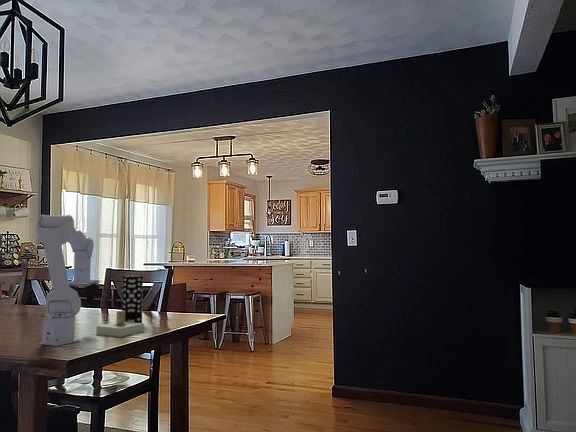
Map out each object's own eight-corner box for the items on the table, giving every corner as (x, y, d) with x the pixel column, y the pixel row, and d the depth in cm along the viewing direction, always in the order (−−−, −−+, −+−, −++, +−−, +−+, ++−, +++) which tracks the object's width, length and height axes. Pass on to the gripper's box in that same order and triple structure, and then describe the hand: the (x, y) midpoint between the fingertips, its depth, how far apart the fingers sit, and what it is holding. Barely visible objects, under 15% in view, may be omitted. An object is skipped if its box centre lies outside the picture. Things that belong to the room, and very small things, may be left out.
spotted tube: (132, 321, 203) (133, 275, 204) (146, 323, 199) (147, 276, 200) (117, 324, 196) (118, 276, 197) (130, 325, 192) (131, 277, 193)
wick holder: (120, 336, 168) (120, 328, 168) (96, 334, 173) (96, 326, 173) (143, 331, 179) (144, 323, 179) (120, 329, 184) (120, 321, 184)
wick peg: (120, 333, 174) (120, 312, 174) (114, 333, 175) (115, 311, 176) (126, 332, 176) (126, 311, 177) (120, 331, 178) (121, 310, 178)
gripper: (73, 270, 167) (72, 308, 166) (105, 268, 180) (104, 304, 179) (59, 270, 170) (58, 307, 169) (92, 268, 183) (91, 303, 182)
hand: (81, 305), depth 175 cm, fingers open, 7 cm apart
